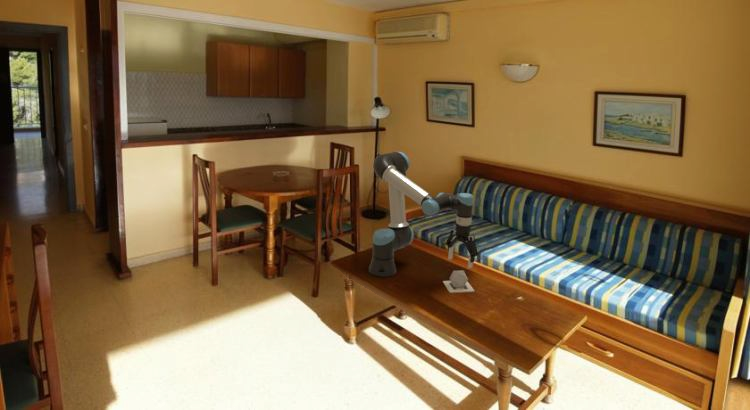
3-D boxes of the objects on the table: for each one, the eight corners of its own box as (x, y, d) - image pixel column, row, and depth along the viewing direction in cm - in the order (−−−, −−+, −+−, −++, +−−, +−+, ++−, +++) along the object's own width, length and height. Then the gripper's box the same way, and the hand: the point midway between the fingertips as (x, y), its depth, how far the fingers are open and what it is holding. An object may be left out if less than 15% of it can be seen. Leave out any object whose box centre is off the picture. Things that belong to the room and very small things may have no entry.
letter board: (449, 292, 247) (450, 291, 247) (442, 282, 260) (442, 280, 260) (474, 291, 249) (474, 290, 249) (466, 281, 262) (466, 280, 262)
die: (463, 292, 248) (473, 275, 250) (448, 283, 248) (458, 266, 249) (458, 290, 257) (468, 274, 258) (444, 282, 257) (454, 265, 258)
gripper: (440, 218, 252) (437, 257, 258) (477, 232, 233) (474, 273, 239) (450, 216, 257) (447, 254, 263) (488, 229, 238) (483, 269, 244)
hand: (460, 263), depth 251 cm, fingers open, 13 cm apart
